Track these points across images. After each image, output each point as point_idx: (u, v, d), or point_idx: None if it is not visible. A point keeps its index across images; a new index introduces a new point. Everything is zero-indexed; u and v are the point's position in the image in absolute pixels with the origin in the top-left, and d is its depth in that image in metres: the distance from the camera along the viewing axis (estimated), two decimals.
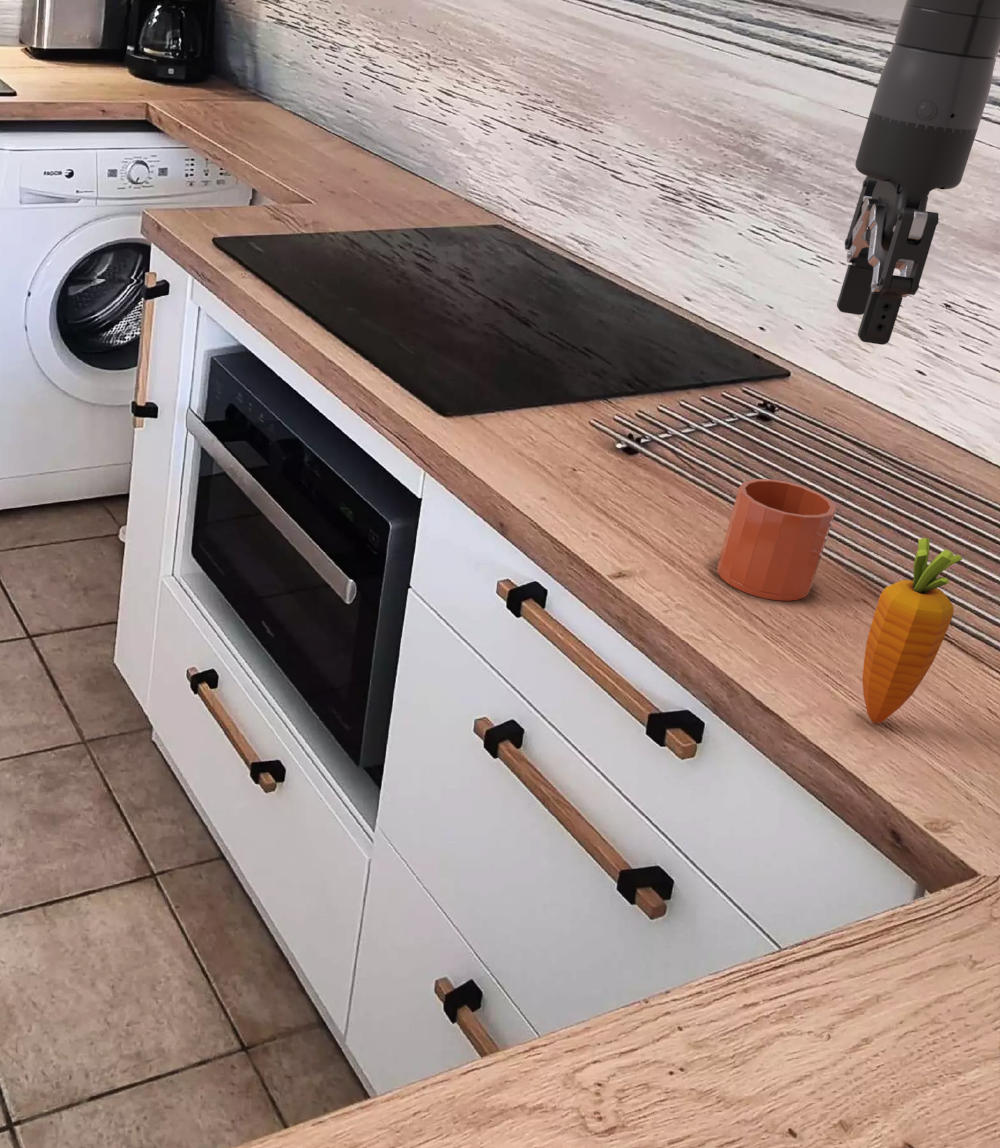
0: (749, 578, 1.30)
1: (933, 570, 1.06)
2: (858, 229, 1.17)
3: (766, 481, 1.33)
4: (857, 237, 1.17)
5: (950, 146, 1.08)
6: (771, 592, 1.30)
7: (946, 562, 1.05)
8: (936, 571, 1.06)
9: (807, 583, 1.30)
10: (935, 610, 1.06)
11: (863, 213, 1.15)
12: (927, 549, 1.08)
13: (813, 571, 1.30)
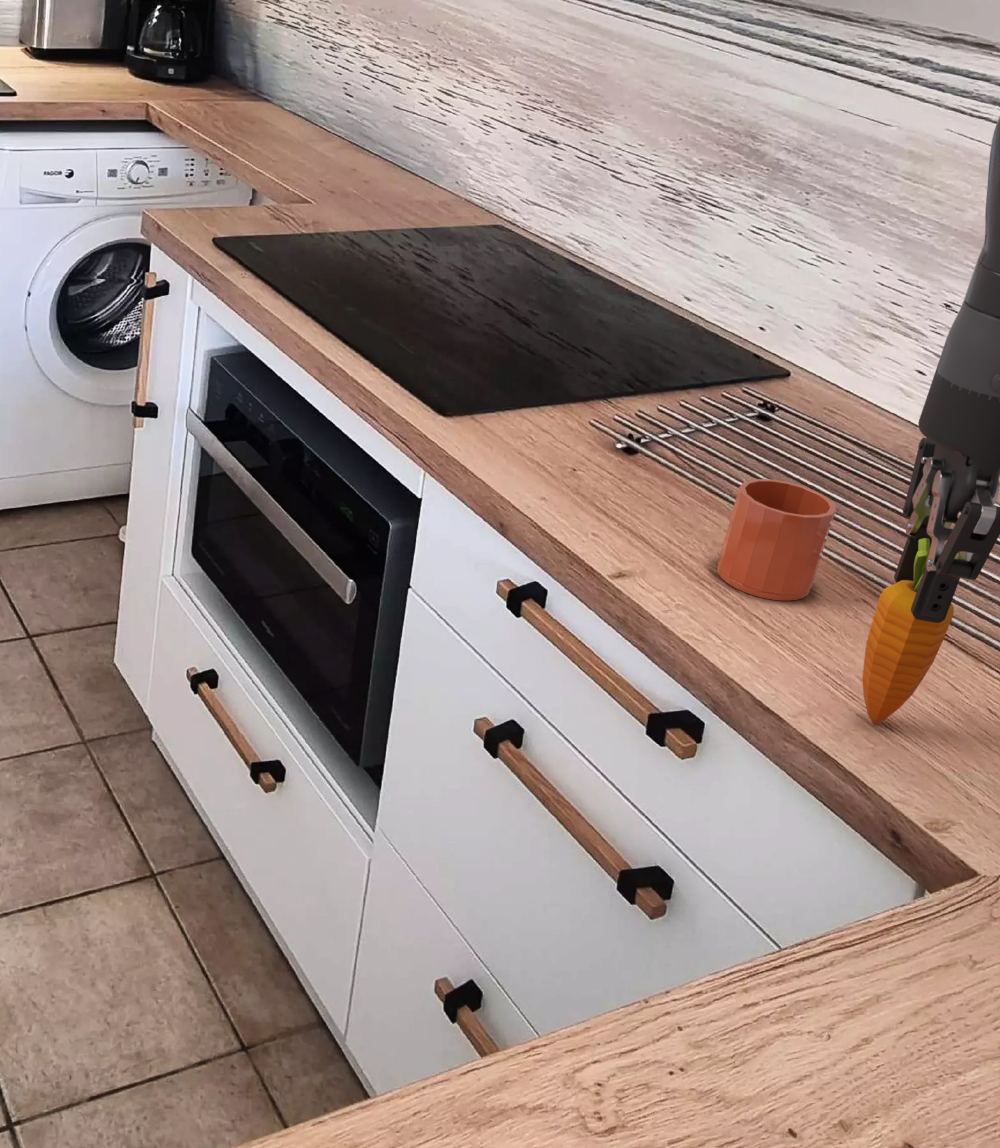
0: (749, 578, 1.30)
1: None
2: (920, 493, 1.06)
3: (766, 481, 1.33)
4: (919, 503, 1.07)
5: None
6: (771, 592, 1.30)
7: None
8: None
9: (807, 583, 1.30)
10: None
11: (926, 474, 1.05)
12: (927, 549, 1.08)
13: (813, 571, 1.30)
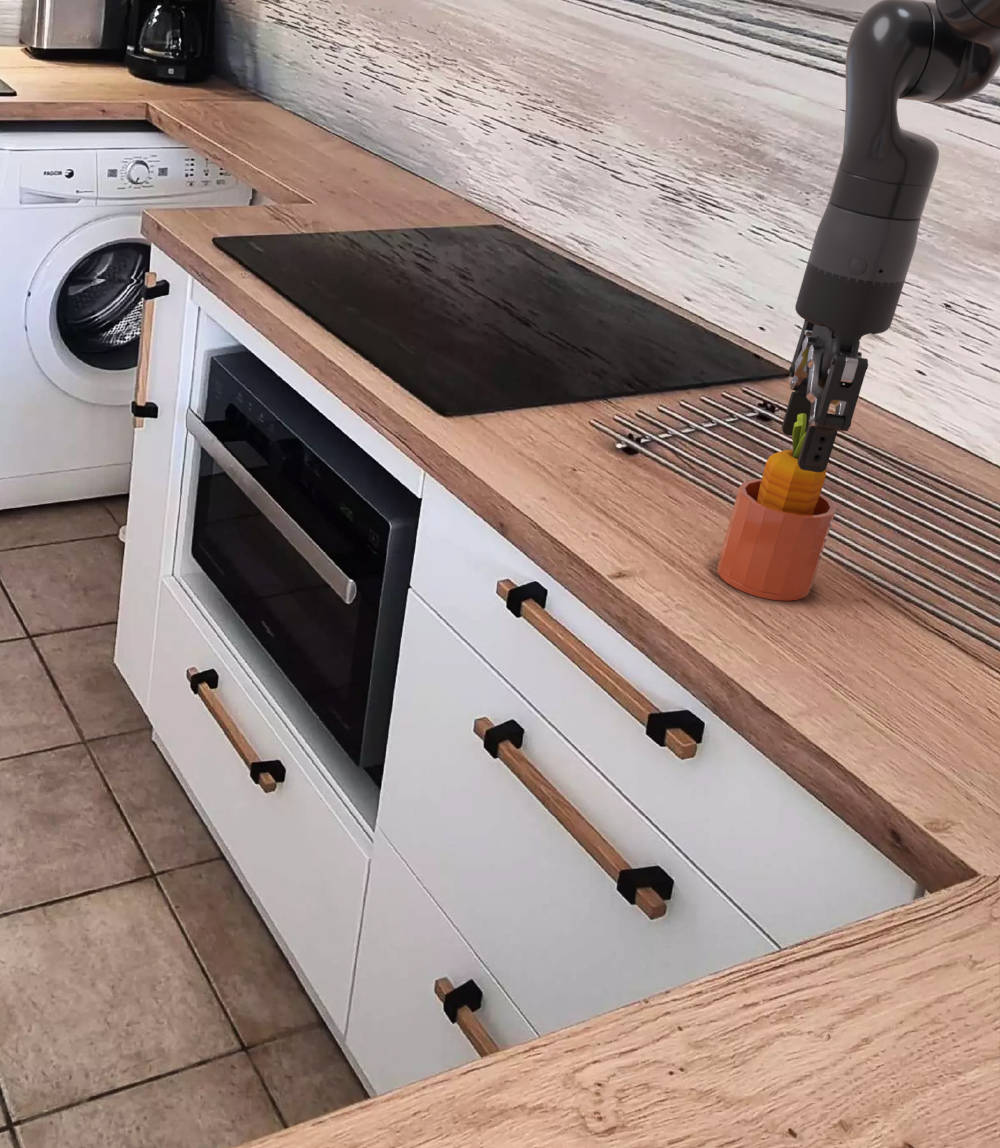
0: (749, 578, 1.30)
1: None
2: (799, 363, 1.27)
3: None
4: (798, 369, 1.28)
5: (879, 297, 1.18)
6: (771, 592, 1.30)
7: None
8: None
9: (807, 583, 1.30)
10: (809, 471, 1.27)
11: (803, 350, 1.26)
12: (804, 422, 1.28)
13: (813, 571, 1.30)
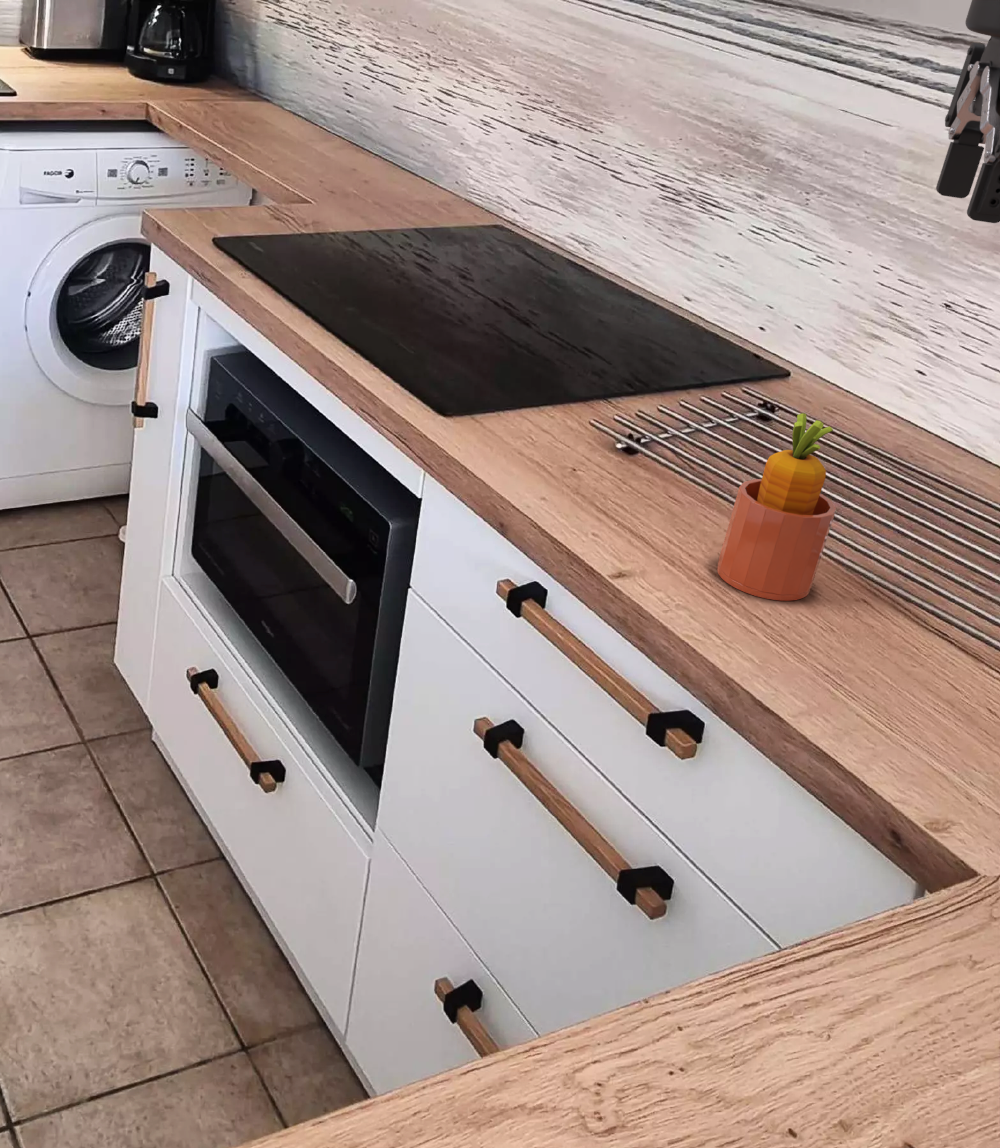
0: (749, 578, 1.30)
1: (807, 438, 1.26)
2: (965, 99, 1.06)
3: None
4: (963, 108, 1.06)
5: None
6: (771, 592, 1.30)
7: (817, 430, 1.25)
8: (809, 439, 1.26)
9: (807, 583, 1.30)
10: (809, 471, 1.27)
11: (972, 79, 1.04)
12: (804, 422, 1.28)
13: (813, 571, 1.30)
